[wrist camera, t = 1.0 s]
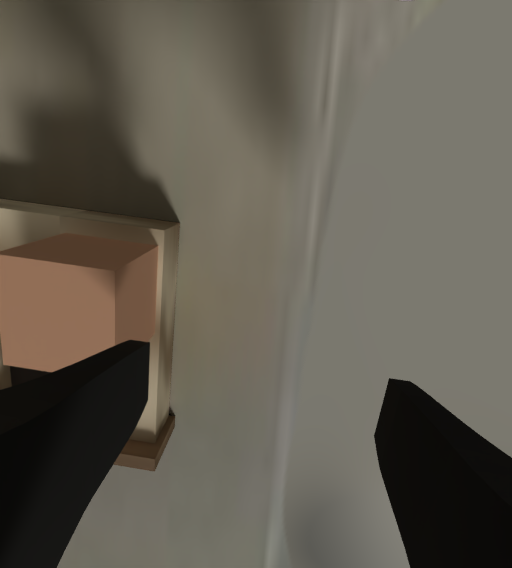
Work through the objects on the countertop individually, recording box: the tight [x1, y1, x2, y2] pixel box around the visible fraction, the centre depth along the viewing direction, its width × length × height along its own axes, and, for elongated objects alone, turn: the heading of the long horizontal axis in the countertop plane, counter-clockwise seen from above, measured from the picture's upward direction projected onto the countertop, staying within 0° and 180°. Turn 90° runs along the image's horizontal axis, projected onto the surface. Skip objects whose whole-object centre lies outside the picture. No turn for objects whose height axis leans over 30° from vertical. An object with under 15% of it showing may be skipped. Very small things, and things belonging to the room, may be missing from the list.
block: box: [0, 233, 158, 372], centre depth 16 cm, size 4×4×4 cm
